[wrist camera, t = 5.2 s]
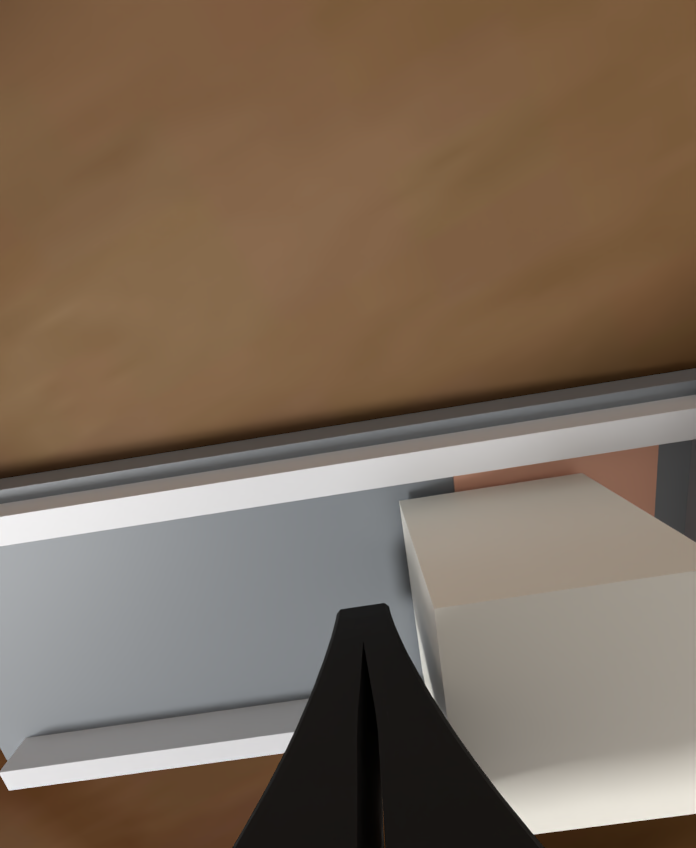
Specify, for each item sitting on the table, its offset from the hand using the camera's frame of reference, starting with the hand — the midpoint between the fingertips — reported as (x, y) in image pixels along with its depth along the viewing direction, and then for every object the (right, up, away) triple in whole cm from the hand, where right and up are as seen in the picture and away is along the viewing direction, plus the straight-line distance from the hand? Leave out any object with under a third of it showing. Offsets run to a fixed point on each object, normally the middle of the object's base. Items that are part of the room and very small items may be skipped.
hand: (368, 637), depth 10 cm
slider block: (+4, +1, +1) cm, 4 cm away
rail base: (-1, 0, +3) cm, 3 cm away
